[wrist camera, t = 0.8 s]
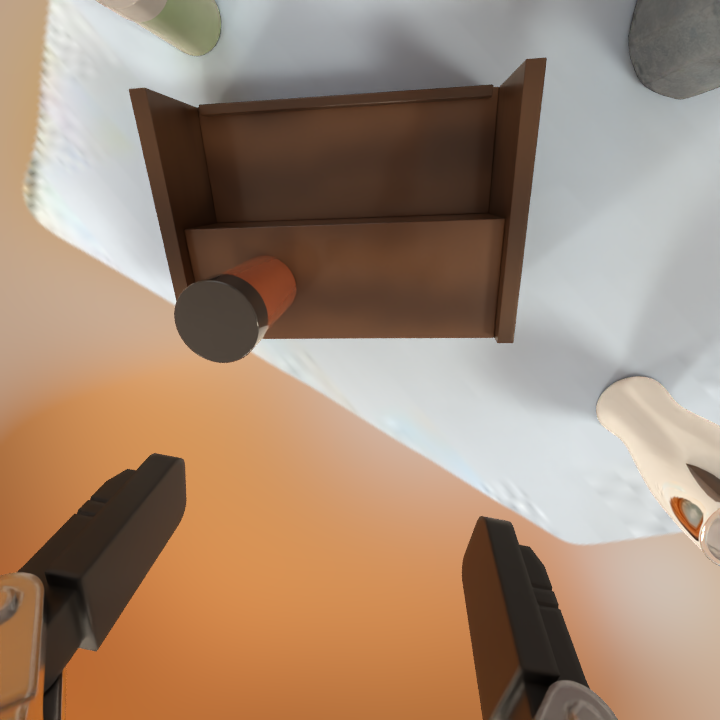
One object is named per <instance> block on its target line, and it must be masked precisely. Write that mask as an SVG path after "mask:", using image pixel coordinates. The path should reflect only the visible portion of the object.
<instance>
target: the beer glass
mask: <svg viewBox="0 0 720 720" xmlns="http://www.w3.org/2000/svg"><path fill="white" fill-rule="evenodd" d="M596 415H597V418H598V420H599V422H600V423H601V425H602V426H603V427H604V428H606V429H607V430H608V431H610V432H611V433H612V434H614V435H615V436H617V437H618V438H619V439H620V440H621V441H622V442H623V443H624V444H625V446H626V447H627V449H628V451H629V453H630V455H631V457H632V459H633V461H634V463H635V465H636V467H637V469H638V471H639V472H640V474H641V476H642V478H643V480H644V482H645V483H646V485H647V487H648V488H649V490H650V492H651V493H652V495H653V496H654V497H655V499H656V500H657V501H658V503H659V504H660V505H661V507H662V508H663V509H664V510H665V512H666V513H667V514H668V515H669V516H670V517H671V519H672V520H673V521H674V522H675V523H676V524H677V525H678V526H679V527H680V528H681V530H682V531H683V532H684V533H685V534H686V535H687V536H688V537H689V538H690V539H691V540H692V541H693V542H694V543H695V544H696V545H697V546H698V547H699V548H700V549H701V550H702V551H703V552H704V554H705V555H706V557H707V558H708V559H709V560H711V561H712V562H713V563H715V564H717V565H718V566H720V426H719V425H717V424H715V423H713V422H711V421H709V420H707V419H705V418H703V417H701V416H699V415H697V414H695V413H693V412H691V411H689V410H687V409H685V408H683V407H682V406H681V405H679V404H678V403H677V402H676V401H675V400H674V399H673V398H672V396H671V395H670V394H669V392H668V391H667V390H666V389H665V387H664V386H663V385H662V384H660V383H659V382H658V381H656V380H654V379H651V378H648V377H642V376H634V377H628V378H624V379H622V380H619V381H617V382H615V383H613V384H612V385H611V386H609V387H608V388H607V389H606V390H605V391H604V392H603V393H602V395H601V396H600V398H599V400H598V402H597V406H596Z"/></svg>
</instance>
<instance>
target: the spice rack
mask: <svg viewBox="0 0 720 720" xmlns="http://www.w3.org/2000/svg"><path fill="white" fill-rule="evenodd" d="M546 60H547V58H535V59H526V60H525V61H524V62H523V63H522V64H521V65H520V66H519V67H518V68H517V69H516V70H515V71H514V72H513V73H512V74H511V76H510V77H509V78H508V79H507V80H506V81H505V82H504V83H503V84H502V85H501V86H500V87H493V85H479V86H465V87H450V88H436V89H421V90H407V91H392V92H378V93H363V94H349V95H334V96H320V97H305V98H291V99H276V100H262V101H247V102H233V103H218V104H204V105H199V107H198V108H196V107H194V106H191V105H188V104H186V103H183V102H181V101H178V100H175V99H173V98H170V97H168V96H165V95H162V94H160V93H157V92H155V91H152V90H149V89H147V88H134V89H129V93H130V97H131V102H132V106H133V110H134V115H135V119H136V124H137V128H138V133H139V137H140V141H141V146H142V150H143V155H144V159H145V164H146V168H147V172H148V177H149V181H150V186H151V190H152V195H153V199H154V203H155V208H156V212H157V217H158V221H159V226H160V230H161V234H162V239H163V243H164V248H165V252H166V257H167V261H168V265H169V270H170V274H171V279H172V283H173V288H174V292H175V296H176V301H177V300H178V297H179V296H180V294H181V293H182V292H183V290H184V289H186V288H187V287H188V286H190V285H191V284H193V283H195V282H197V281H199V280H202V279H204V278H206V277H208V276H211V275H215V274H219V273H221V272H224V271H226V270H228V269H230V268H232V267H234V266H236V265H238V264H240V263H243V262H245V261H247V260H249V259H251V258H253V257H257V256H270V257H274V258H276V259H278V260H280V261H281V262H283V263H284V264H285V265H286V266H287V267H288V268H289V269H290V271H291V272H292V274H293V276H294V279H295V282H296V295H295V299H294V301H293V303H292V305H291V306H290V307H289V308H288V309H287V310H286V311H285V312H284V314H283V315H282V316H281V317H280V318H279V319H278V320H277V321H276V322H275V323H274V324H273V325H272V326H271V327H270V328H269V330H268V331H267V332H266V333H265V335H264V337H263V338H262V339H312V338H493V337H494V338H495V340H496V341H497V343H513V341H514V332H515V324H516V315H517V307H518V298H519V290H520V281H521V273H522V264H523V256H524V247H525V239H526V230H527V222H528V213H529V205H530V196H531V188H532V179H533V171H534V162H535V154H536V145H537V137H538V128H539V120H540V111H541V103H542V94H543V86H544V77H545V69H546Z"/></svg>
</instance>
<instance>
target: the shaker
mask: <svg viewBox="0 0 720 720" xmlns="http://www.w3.org/2000/svg"><path fill="white" fill-rule="evenodd" d="M96 1H97V2H99V3H100V4H102V5H104V6H105V7H107V8H109V9H110V10H112V11H113V12H115V13H117V14H118V15H120V16H122V17H123V18H125V19H127V20H130V21H133V22H135V23H137V24H138V25H140V26H142V27H143V28H145V29H146V30H148V31H150V32H151V33H153V34H155V35H156V36H158V37H159V38H161V39H163V40H164V41H166V42H168V43H169V44H171V45H173V46H174V47H176V48H177V49H179V50H181V51H182V52H184V53H186V54H188V55H192V56H201V55H204V54H206V53H208V52H209V51H211V50H212V49H213V48H214V46H215V45H216V43H217V41H218V39H219V35H220V30H221V18H220V13H219V9H218V7H217V4H216V2H215V0H96Z"/></svg>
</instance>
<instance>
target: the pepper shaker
mask: <svg viewBox="0 0 720 720" xmlns="http://www.w3.org/2000/svg"><path fill="white" fill-rule="evenodd" d="M295 295H296V282H295V279H294V276H293V274H292V272H291V271H290V269H289V268H288V267H287V266H286V265H285V264H284V263H283V262H281V261H280V260H278V259H276V258H274V257H270V256H257V257H253V258H251V259H249V260H247V261H245V262H243V263H240V264H238V265H236V266H234V267H232V268H230V269H228V270H226V271H224V272H221V273H219V274H215V275H211V276H208V277H206V278H204V279H202V280H199V281H197V282H195V283H193V284H191V285H190V286H188V287H187V288H186V289H184V290H183V292H182V293H181V294H180V296H179V297H178V300H177V302H176V306H175V312H174V315H175V324H176V327H177V330H178V332H179V335H180V336H181V338H182V340H183V341H184V343H185V344H186V345H187V346H188V347H189V348H190V349H191V350H192V351H193V352H195V353H196V354H197V355H199V356H201V357H203V358H205V359H207V360H210V361H213V362H219V363H228V362H234V361H237V360H240V359H242V358H244V357H245V356H246V355H248V354H249V353H250V352H251V351H252V350H253V348H254V347H255V346H256V345H257V344H258V343H259V342H260V341H261V339H262V338H263V337H264V335H265V333H266V332H267V331H268V330H269V328H270V327H271V326H272V325H273V324H274V323H275V322H276V321H277V320H278V319H279V318H280V317H281V316H282V315H283V314H284V312H285V311H286V310H287V309H288V308H289V307H290V306H291V305H292V303H293V301H294V299H295Z"/></svg>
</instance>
